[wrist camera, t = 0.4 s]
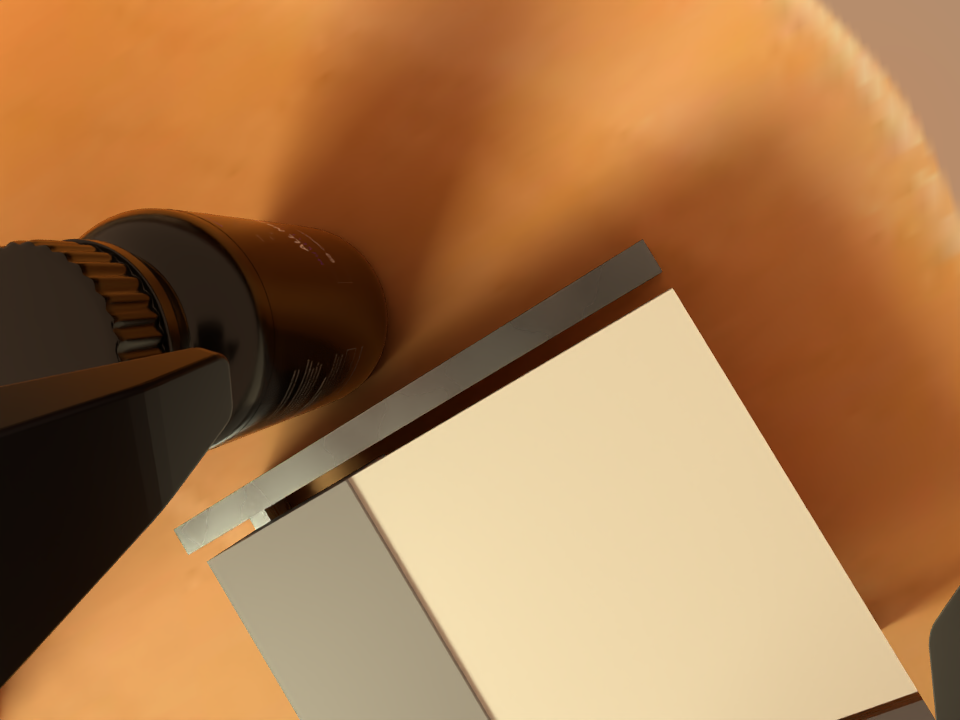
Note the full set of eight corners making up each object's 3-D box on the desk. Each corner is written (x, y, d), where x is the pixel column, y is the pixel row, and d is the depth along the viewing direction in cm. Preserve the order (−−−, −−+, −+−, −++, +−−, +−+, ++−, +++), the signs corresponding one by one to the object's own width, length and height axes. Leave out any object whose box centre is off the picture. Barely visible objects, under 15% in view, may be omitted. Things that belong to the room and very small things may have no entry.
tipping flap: (424, 807, 24) (393, 879, 21) (259, 527, 25) (206, 561, 22) (881, 632, 19) (920, 695, 17) (670, 285, 20) (673, 288, 17)
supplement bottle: (365, 203, 24) (109, 145, 13) (413, 380, 25) (208, 475, 13) (213, 255, 26) (-127, 243, 15) (261, 418, 27) (-33, 529, 15)
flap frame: (444, 798, 27) (398, 913, 22) (258, 483, 27) (173, 529, 22) (879, 631, 22) (943, 732, 17) (645, 246, 22) (642, 239, 17)
